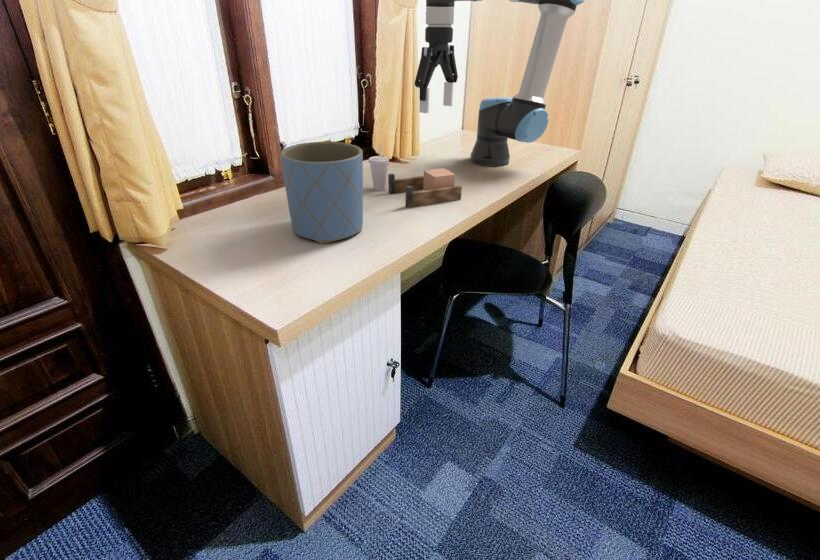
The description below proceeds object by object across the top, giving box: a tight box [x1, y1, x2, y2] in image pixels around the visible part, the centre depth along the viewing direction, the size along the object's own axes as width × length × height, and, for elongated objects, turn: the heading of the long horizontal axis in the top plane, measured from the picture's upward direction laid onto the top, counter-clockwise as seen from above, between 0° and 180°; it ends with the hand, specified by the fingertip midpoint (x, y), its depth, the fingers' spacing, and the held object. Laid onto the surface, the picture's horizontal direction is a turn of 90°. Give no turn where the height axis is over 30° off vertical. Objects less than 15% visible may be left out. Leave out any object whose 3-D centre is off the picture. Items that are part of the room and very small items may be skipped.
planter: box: [279, 141, 364, 245], centre depth 107 cm, size 19×19×20 cm
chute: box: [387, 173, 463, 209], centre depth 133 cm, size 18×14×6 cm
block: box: [422, 167, 456, 191], centre depth 135 cm, size 7×7×7 cm
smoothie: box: [368, 144, 390, 192], centre depth 136 cm, size 6×6×14 cm
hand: (436, 109), depth 128 cm, fingers open, 13 cm apart
